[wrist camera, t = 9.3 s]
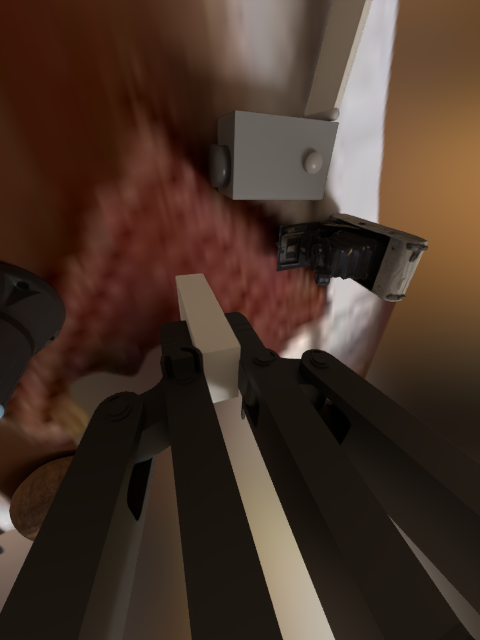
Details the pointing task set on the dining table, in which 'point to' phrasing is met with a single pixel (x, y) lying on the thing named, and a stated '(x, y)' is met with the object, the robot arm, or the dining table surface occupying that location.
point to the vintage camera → (353, 253)
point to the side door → (336, 58)
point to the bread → (37, 496)
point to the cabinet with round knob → (271, 156)
